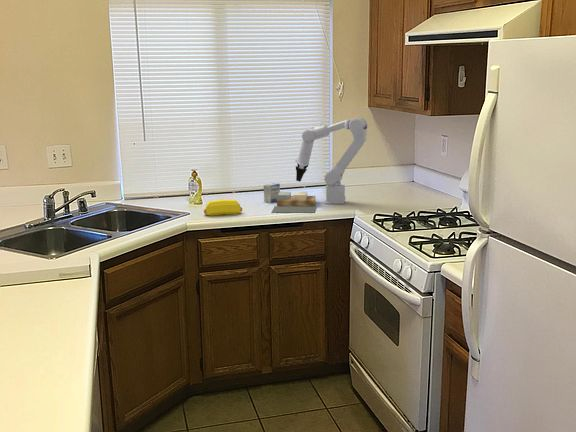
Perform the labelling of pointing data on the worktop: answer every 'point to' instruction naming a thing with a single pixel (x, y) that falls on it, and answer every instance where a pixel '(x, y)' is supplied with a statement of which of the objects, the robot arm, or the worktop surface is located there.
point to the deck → (297, 202)
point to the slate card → (284, 195)
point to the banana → (222, 207)
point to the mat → (294, 209)
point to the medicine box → (271, 192)
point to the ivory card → (300, 195)
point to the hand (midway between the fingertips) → (298, 179)
